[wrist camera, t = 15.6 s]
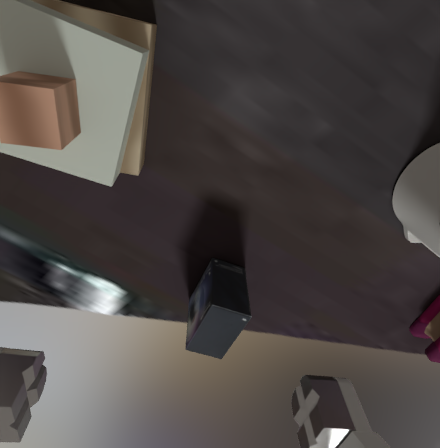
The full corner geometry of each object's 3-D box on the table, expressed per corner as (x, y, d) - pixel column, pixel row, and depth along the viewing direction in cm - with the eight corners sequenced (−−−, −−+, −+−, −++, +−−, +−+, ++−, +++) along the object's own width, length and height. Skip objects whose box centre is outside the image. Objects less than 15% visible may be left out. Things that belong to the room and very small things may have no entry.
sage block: (149, 50, 32) (142, 53, 28) (119, 172, 38) (111, 186, 35) (-4, -15, 28) (-32, -20, 25) (-6, 131, 35) (-29, 142, 32)
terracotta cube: (75, 79, 29) (53, 89, 25) (80, 132, 32) (61, 150, 28) (18, 71, 29) (-15, 80, 24) (28, 126, 31) (0, 143, 27)
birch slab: (157, 24, 34) (151, 24, 30) (144, 162, 43) (138, 175, 39) (-2, -16, 32) (-30, -21, 28) (17, 138, 40) (-3, 150, 36)
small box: (210, 255, 51) (211, 304, 42) (246, 267, 52) (254, 316, 43) (186, 299, 56) (183, 351, 47) (220, 308, 57) (223, 360, 48)
